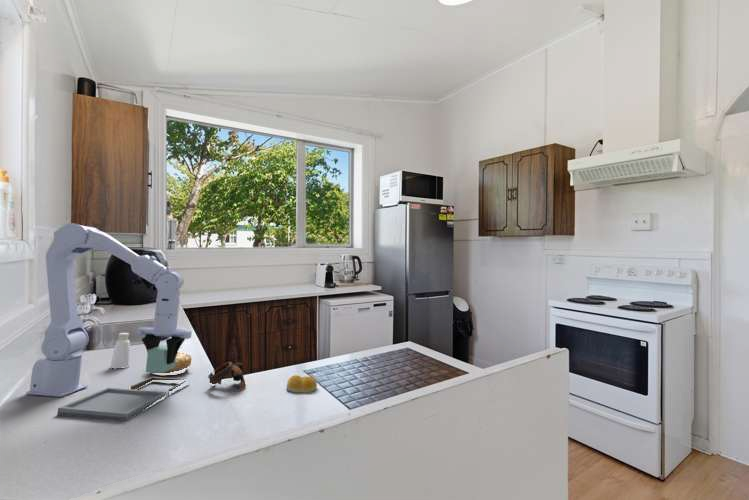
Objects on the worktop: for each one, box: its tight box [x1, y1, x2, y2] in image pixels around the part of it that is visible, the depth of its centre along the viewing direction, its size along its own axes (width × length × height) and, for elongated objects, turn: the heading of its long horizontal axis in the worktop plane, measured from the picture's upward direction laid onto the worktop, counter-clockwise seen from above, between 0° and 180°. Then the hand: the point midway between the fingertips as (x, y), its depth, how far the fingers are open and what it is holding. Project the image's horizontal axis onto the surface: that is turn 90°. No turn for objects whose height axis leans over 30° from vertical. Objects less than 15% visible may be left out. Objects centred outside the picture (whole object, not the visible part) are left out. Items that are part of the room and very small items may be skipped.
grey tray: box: [57, 386, 168, 422], centre depth 85 cm, size 16×14×2 cm
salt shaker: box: [109, 332, 131, 370], centre depth 115 cm, size 5×5×11 cm
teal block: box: [145, 344, 176, 374], centre depth 98 cm, size 4×6×6 cm
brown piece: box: [207, 361, 247, 392], centre depth 104 cm, size 12×10×8 cm
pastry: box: [163, 346, 192, 373], centre depth 113 cm, size 12×12×9 cm
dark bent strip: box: [130, 376, 186, 392], centre depth 99 cm, size 11×9×2 cm
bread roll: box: [286, 374, 318, 394], centre depth 106 cm, size 8×9×4 cm
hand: (161, 362), depth 98 cm, fingers closed on teal block, 4 cm apart
